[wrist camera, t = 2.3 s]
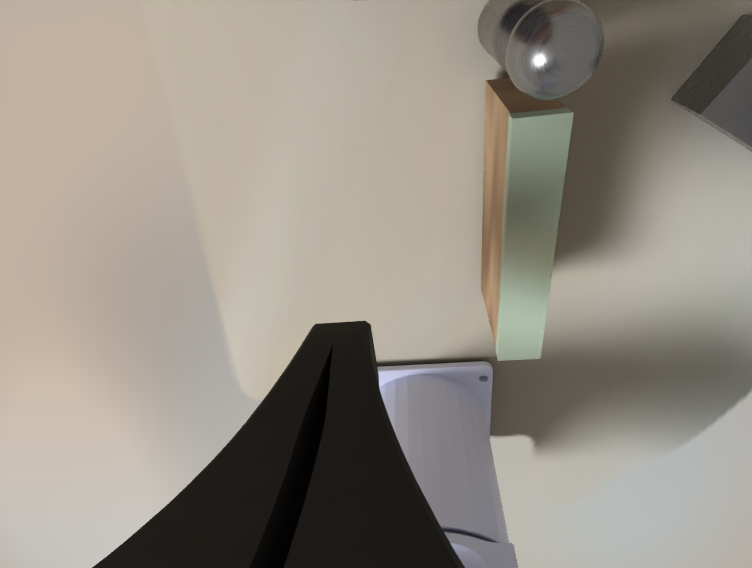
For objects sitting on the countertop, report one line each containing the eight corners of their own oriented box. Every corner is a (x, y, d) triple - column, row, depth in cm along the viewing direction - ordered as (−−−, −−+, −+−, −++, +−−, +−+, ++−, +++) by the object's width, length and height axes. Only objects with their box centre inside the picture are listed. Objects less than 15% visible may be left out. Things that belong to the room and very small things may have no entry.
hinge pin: (537, 56, 16) (609, 105, 10) (474, 63, 16) (512, 115, 11) (543, -18, 15) (629, -7, 9) (475, -9, 15) (519, 8, 9)
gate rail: (513, 291, 21) (539, 366, 17) (479, 293, 22) (497, 367, 18) (529, 74, 16) (573, 112, 12) (484, 79, 16) (512, 118, 12)
